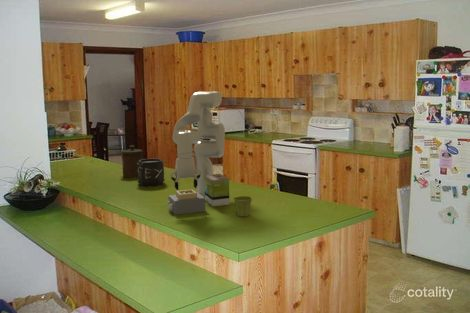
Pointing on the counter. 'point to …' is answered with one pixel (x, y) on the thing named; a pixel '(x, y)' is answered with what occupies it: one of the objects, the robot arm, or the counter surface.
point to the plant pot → (243, 205)
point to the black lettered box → (150, 172)
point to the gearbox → (186, 202)
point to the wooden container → (131, 161)
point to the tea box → (216, 189)
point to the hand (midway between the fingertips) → (186, 188)
